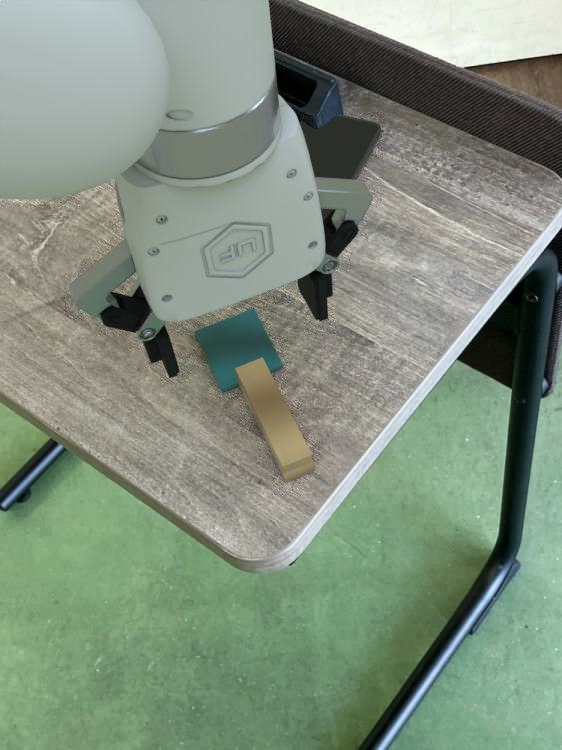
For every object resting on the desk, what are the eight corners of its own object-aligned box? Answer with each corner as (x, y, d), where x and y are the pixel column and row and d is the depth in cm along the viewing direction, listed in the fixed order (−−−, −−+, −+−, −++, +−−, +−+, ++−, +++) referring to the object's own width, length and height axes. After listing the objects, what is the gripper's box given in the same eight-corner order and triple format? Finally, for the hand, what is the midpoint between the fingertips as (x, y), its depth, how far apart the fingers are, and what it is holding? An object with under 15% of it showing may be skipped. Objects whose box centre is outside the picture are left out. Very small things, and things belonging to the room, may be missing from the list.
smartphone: (383, 122, 84) (314, 251, 76) (384, 131, 85) (315, 260, 77) (307, 106, 86) (232, 229, 78) (308, 115, 87) (234, 238, 79)
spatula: (332, 463, 67) (330, 446, 65) (267, 491, 66) (262, 474, 64) (254, 311, 75) (250, 292, 73) (195, 334, 74) (189, 316, 72)
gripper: (39, 222, 41) (125, 430, 55) (402, 98, 44) (395, 326, 58) (1, 119, 45) (90, 336, 59) (335, 11, 48) (344, 243, 62)
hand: (241, 331), depth 58 cm, fingers open, 9 cm apart
